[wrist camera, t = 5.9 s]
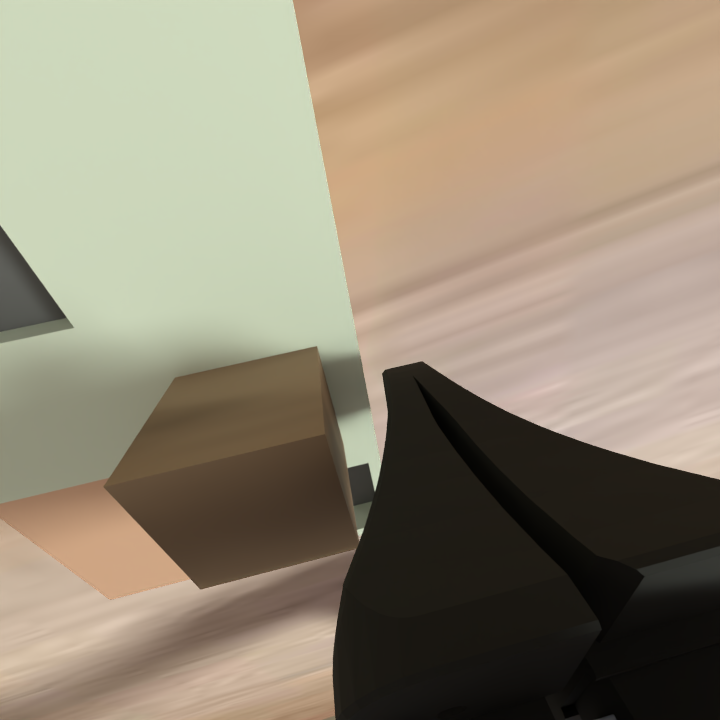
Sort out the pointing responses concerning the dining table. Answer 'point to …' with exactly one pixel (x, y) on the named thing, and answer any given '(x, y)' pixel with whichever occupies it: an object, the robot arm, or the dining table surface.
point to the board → (153, 250)
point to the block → (241, 470)
